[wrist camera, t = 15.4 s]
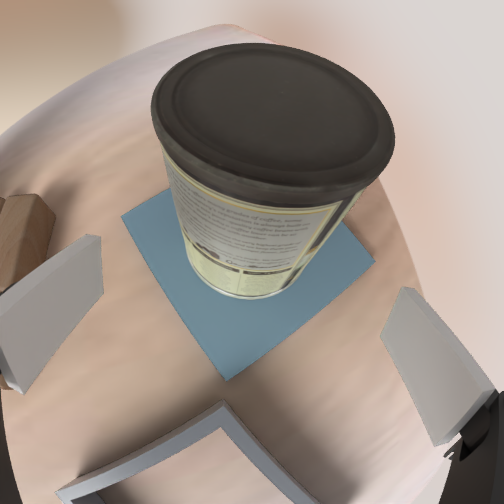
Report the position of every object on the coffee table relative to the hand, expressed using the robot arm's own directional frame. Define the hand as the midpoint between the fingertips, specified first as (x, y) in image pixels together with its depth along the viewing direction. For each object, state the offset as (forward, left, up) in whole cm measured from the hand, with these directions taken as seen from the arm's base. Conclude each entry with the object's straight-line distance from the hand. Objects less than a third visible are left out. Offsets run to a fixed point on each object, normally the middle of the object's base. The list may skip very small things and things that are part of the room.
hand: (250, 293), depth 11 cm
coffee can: (-5, +5, -10) cm, 12 cm away
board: (-5, +5, -11) cm, 13 cm away
